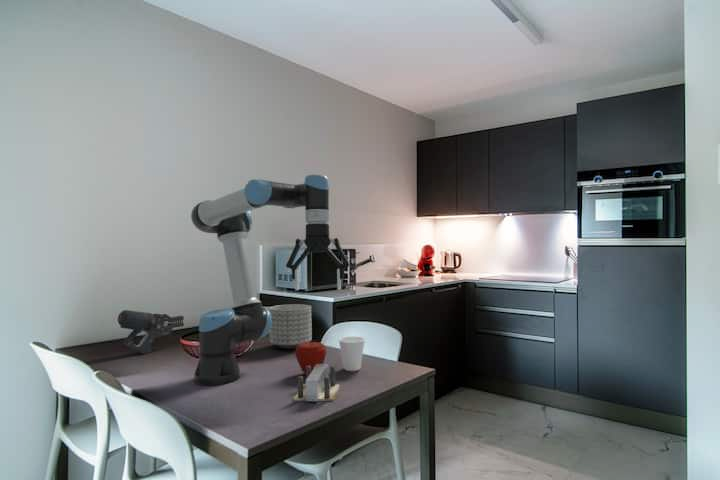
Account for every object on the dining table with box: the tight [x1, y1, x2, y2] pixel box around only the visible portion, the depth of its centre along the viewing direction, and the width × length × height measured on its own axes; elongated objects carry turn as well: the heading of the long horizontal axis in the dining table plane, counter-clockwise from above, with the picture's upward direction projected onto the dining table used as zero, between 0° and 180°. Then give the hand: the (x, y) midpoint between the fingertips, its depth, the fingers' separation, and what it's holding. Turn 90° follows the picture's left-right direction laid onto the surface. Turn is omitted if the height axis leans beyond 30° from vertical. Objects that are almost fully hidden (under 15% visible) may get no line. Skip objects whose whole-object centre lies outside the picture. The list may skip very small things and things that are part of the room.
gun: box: [117, 309, 185, 355], centre depth 184 cm, size 7×28×20 cm, turn 144°
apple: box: [294, 340, 327, 375], centre depth 147 cm, size 11×11×12 cm
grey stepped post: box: [305, 363, 330, 402], centre depth 128 cm, size 17×4×6 cm, turn 175°
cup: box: [338, 336, 366, 372], centre depth 153 cm, size 10×10×11 cm
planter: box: [268, 303, 313, 350], centre depth 189 cm, size 19×19×18 cm
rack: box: [292, 365, 340, 402], centre depth 128 cm, size 12×13×7 cm
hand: (318, 289), depth 132 cm, fingers open, 13 cm apart
